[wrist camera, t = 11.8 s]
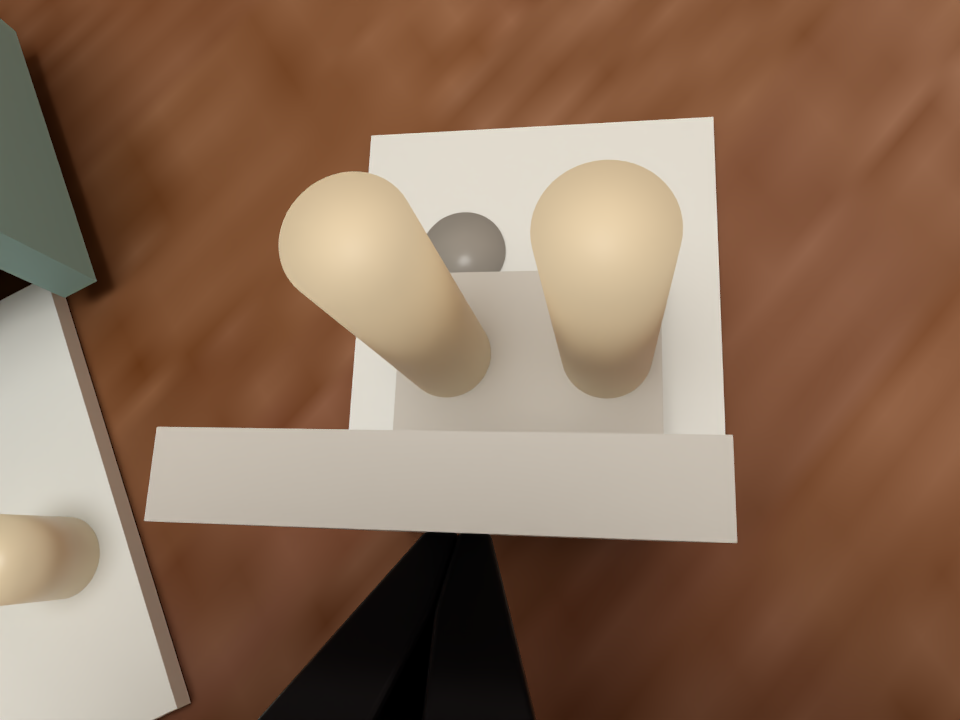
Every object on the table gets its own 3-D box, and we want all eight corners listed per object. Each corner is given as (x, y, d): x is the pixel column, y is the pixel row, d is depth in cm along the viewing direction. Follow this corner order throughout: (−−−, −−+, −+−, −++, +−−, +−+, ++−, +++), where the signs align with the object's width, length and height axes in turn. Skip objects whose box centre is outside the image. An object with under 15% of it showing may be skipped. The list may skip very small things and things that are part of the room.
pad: (724, 476, 17) (727, 474, 17) (349, 467, 19) (344, 466, 18) (711, 122, 19) (713, 115, 19) (374, 140, 21) (370, 134, 20)
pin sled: (662, 541, 16) (737, 542, 7) (398, 531, 18) (143, 520, 8) (657, 282, 18) (714, -16, 8) (413, 287, 19) (210, 25, 9)
